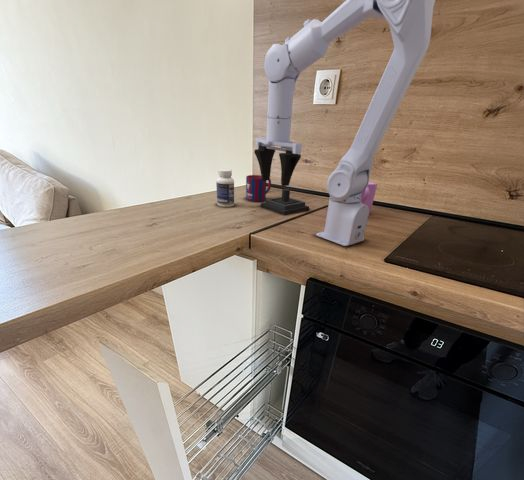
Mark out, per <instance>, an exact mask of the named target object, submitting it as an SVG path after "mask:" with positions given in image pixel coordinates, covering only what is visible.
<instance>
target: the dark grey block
mask: <svg viewBox="0 0 524 480" xmlns="http://www.w3.org/2000/svg"><path fill="white" fill-rule="evenodd" d="M290 194H291V189H290V188H282V190H281V197H282V199H278V200H274V201H275V202H278V203H281V204H284V205H287V204H292V203H296V201H293V200H289V197H290Z"/></svg>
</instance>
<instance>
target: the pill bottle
mask: <svg viewBox="0 0 524 480" xmlns="http://www.w3.org/2000/svg"><path fill="white" fill-rule="evenodd" d="M217 175H218V177H217V178H216V180H215V182H216V183H215V184H216V204H217V206H218V207H222V208H227V207H228V208H231V207H234V206H235V180H234V178H232V175H233V172H232V169H229V168H218V169H217Z"/></svg>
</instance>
